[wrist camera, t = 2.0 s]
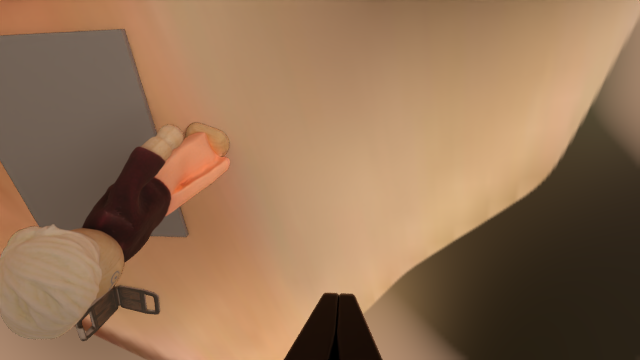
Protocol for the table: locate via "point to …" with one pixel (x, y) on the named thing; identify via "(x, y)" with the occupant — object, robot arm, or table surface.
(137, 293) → the strap clip
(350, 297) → the robot arm
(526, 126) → the table surface
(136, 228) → the grandmother figurine
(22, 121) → the mat
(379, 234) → the table surface
